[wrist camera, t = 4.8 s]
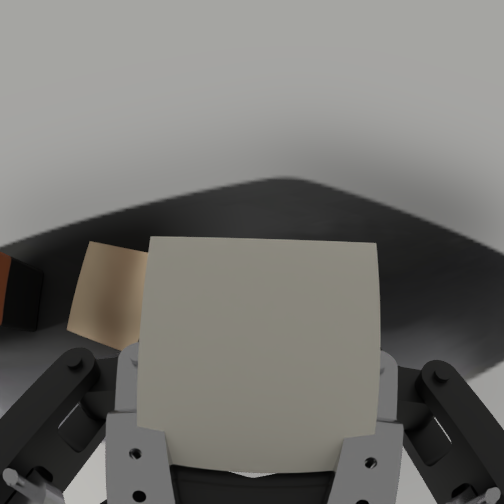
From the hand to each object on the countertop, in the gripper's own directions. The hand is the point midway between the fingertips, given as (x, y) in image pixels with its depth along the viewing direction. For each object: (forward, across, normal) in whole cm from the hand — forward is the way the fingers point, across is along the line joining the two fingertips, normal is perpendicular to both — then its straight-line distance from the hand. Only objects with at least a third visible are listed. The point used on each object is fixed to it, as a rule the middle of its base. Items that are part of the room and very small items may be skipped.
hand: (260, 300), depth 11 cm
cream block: (+2, 0, +4) cm, 5 cm away
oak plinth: (+11, +12, +9) cm, 18 cm away
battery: (+10, +26, +10) cm, 29 cm away
